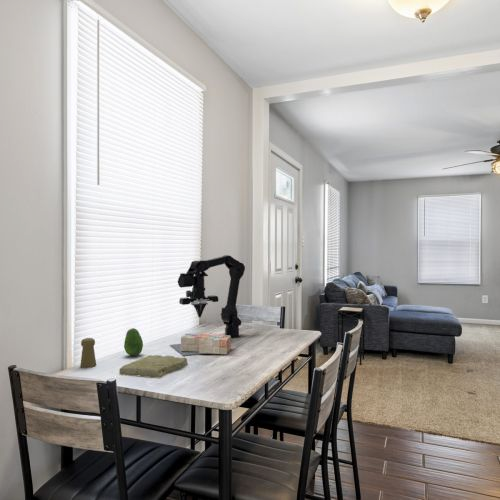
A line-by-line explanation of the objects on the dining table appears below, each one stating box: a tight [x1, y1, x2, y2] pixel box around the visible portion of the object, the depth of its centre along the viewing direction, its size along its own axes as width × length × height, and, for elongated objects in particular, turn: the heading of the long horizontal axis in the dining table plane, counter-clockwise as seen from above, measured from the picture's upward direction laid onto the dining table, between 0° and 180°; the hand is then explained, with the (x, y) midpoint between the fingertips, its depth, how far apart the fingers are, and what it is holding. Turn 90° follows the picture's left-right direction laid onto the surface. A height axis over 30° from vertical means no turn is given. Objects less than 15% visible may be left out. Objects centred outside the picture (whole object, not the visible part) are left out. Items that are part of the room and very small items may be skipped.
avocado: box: [123, 328, 144, 357], centre depth 179 cm, size 8×8×12 cm
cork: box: [79, 337, 97, 369], centre depth 164 cm, size 6×6×11 cm
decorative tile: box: [119, 354, 188, 378], centre depth 158 cm, size 19×20×4 cm
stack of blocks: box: [180, 333, 232, 355], centre depth 185 cm, size 21×6×12 cm
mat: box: [169, 343, 208, 357], centre depth 190 cm, size 12×23×1 cm, turn 25°
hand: (199, 317), depth 204 cm, fingers closed
